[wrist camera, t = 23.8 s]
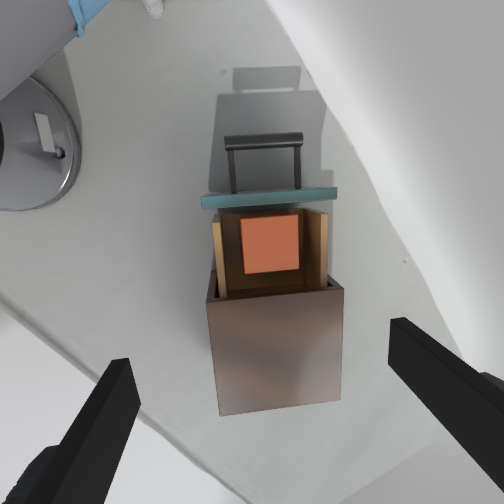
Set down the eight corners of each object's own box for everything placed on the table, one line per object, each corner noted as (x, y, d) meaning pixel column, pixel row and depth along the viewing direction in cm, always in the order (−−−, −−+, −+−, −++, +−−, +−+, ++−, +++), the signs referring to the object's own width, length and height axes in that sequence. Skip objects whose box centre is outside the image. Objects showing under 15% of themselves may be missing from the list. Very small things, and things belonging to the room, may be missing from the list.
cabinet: (210, 271, 36) (205, 302, 26) (314, 261, 37) (344, 288, 27) (221, 361, 40) (219, 417, 30) (314, 350, 41) (340, 400, 31)
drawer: (201, 145, 31) (192, 132, 23) (311, 139, 32) (338, 124, 24) (217, 293, 36) (214, 323, 28) (312, 284, 37) (334, 310, 29)
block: (238, 212, 32) (240, 219, 26) (285, 209, 32) (298, 214, 27) (241, 258, 34) (244, 274, 28) (286, 254, 34) (299, 269, 28)
